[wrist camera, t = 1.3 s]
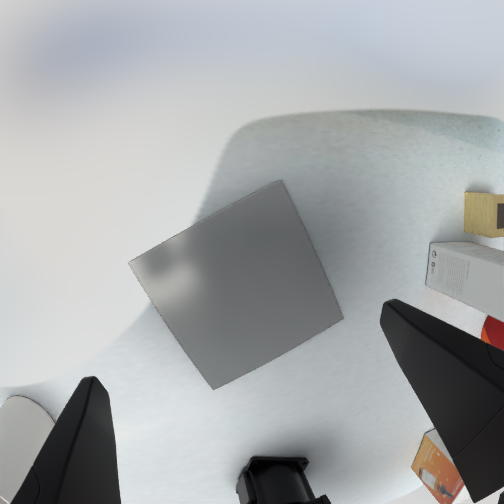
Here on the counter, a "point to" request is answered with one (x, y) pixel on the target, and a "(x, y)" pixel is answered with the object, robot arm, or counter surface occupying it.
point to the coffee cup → (493, 332)
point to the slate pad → (240, 286)
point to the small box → (439, 471)
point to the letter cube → (484, 214)
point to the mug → (20, 442)
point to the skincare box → (469, 275)
